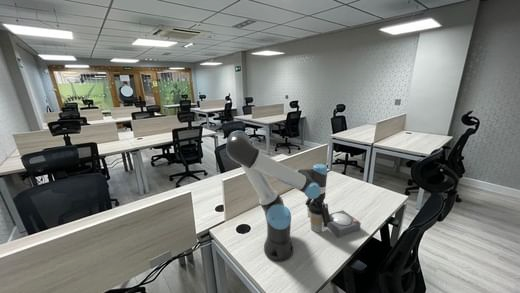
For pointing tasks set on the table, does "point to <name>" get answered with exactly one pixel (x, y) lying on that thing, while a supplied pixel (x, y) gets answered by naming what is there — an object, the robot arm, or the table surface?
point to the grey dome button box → (342, 224)
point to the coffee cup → (315, 218)
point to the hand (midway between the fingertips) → (316, 223)
